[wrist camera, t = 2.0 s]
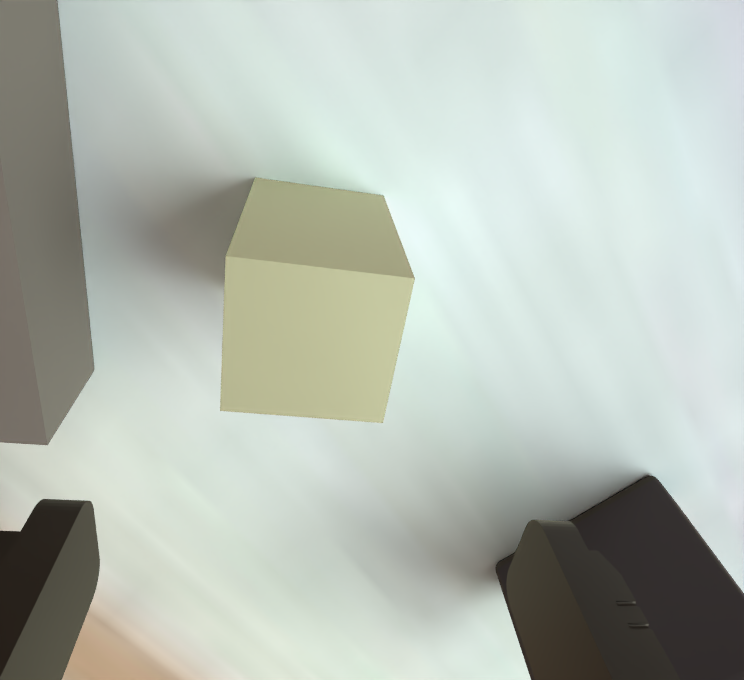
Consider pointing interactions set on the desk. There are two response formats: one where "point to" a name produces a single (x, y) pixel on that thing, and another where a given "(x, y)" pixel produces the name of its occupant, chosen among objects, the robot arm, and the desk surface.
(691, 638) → the dark rectangular box
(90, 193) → the desk surface
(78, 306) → the base slab
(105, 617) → the desk surface
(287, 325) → the block
